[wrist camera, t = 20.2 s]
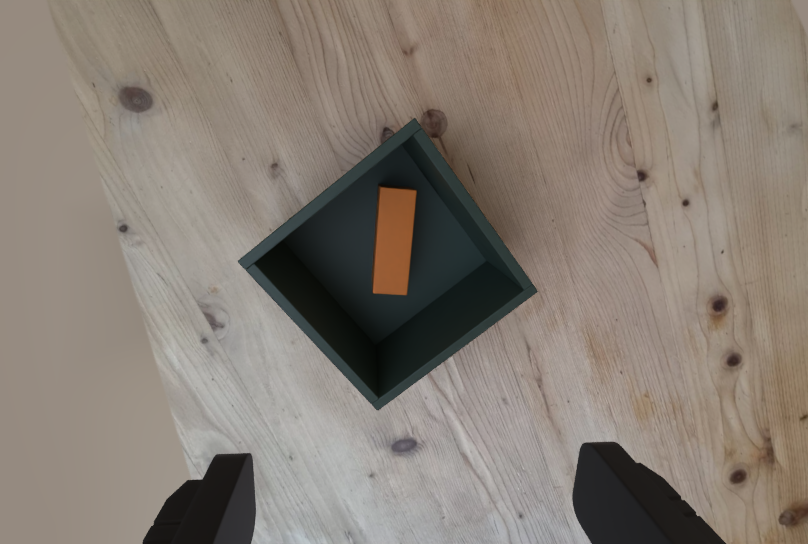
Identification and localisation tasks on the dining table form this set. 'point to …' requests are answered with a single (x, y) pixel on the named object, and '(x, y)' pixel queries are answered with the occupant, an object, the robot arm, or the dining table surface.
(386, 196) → the block
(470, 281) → the open box
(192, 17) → the dining table surface
